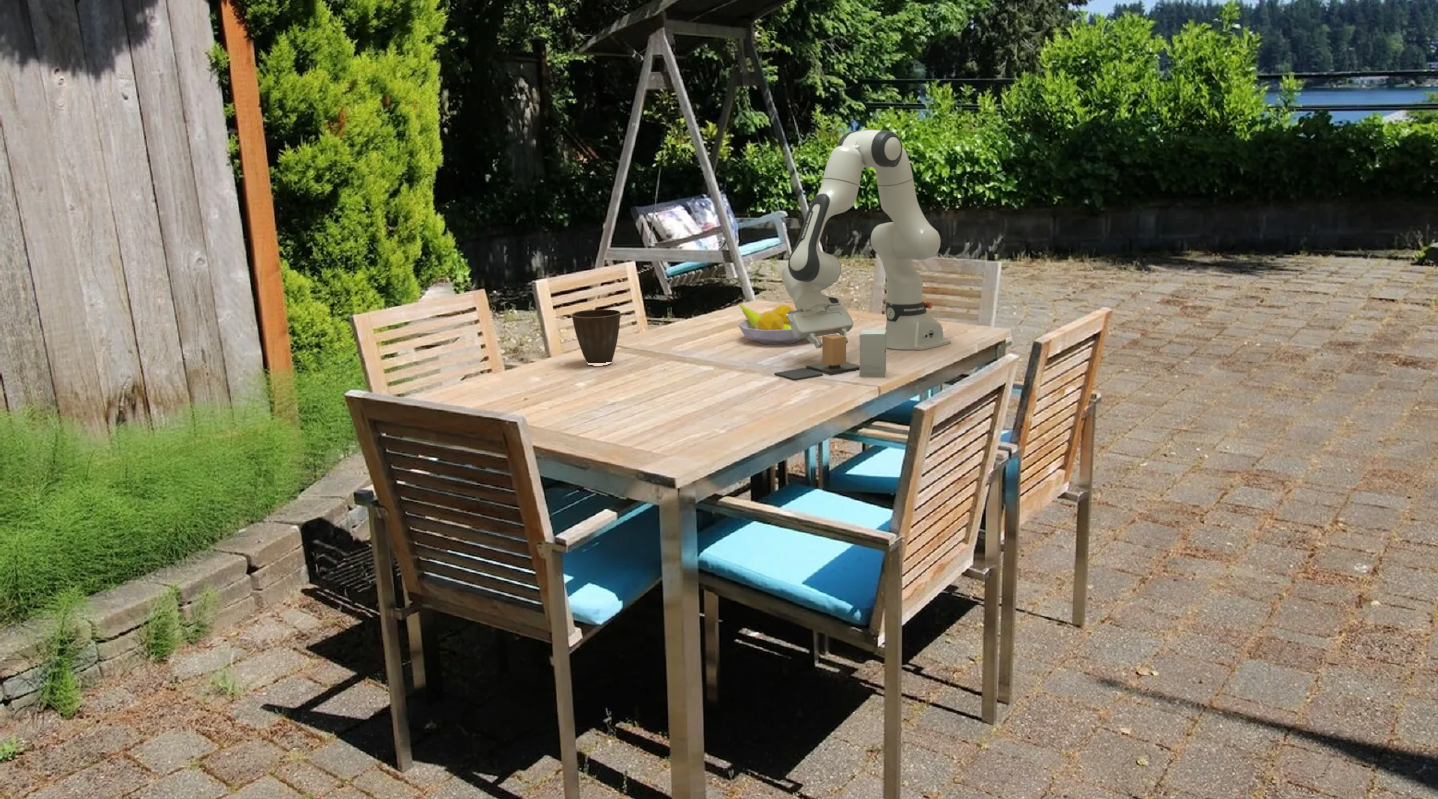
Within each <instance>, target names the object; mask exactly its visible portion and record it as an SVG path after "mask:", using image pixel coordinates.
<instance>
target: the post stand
mask: <svg viewBox="0 0 1438 799" xmlns="http://www.w3.org/2000/svg"><path fill="white" fill-rule="evenodd" d="M805 369H808V370H811V371H815V372H818V373H822V374H823V375H827V374H828V376H834V374H835V375H839V374H840V375H841V374H846V373H852V372H856V370H858V371H860V364H856V363H852V362H847V361H846V363H845V364H839V365H834V366H832V365H828V364H825V363H822V362H817V363H816V362H815V363H811V364H806V365H805Z"/></svg>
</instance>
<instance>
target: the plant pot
mask: <svg viewBox="0 0 1438 799" xmlns="http://www.w3.org/2000/svg"><path fill="white" fill-rule="evenodd" d="M571 317H572V323H573V327H574V332H575V334H576V338H577V341H578V345H579V347H580V350H581V353H582V355H583V357H584V360H585V362H586V363H587V362H588V363H606V362H613V359H614V357H615V356H614V355H615V352H616V348H617V344H618V337H619V334H620V333H619V331H620V323H621V322H620V321H621V311H619V310H617V309H587V310H581V311H577V312H573V313H572V314H571Z"/></svg>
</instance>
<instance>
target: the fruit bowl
mask: <svg viewBox="0 0 1438 799" xmlns="http://www.w3.org/2000/svg"><path fill="white" fill-rule="evenodd" d="M738 306H739V307H740V309H741V310H742V313H743V315H744V316H745V317H746V318H745V319H744V320H743V321H741V322H739V323H737V327H738V328H739V329H740V331H741V332H742V334H743V336H744V337H745V338H748V339H751V340H754V341H756V342H759V343H762V344H765V345H771V344H772V345H780V343H784V344H794V343H795V342H797V341H801V340H802V339H797V338H796V337H795V336H794V334H793V332H792V329H791V326H790V322H789V321H788V319H787V317H786V316H787V313H788V312H789V311H795V310H796V309H794V308H792V307H791V306H789V305H786V304H781V305H779V306H778V307H776V308H775V309H774V310H772V311H765V312H763V313H762V314H760V313H758V312H756V311H754V310H752V309H750V308H747V307H745V306H744V304H743V303H739V304H738Z"/></svg>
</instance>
